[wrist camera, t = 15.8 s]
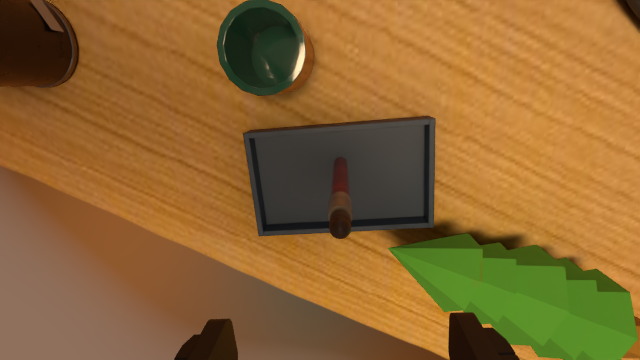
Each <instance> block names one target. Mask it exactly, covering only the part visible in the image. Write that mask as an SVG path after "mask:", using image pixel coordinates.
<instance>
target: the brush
mask: <svg viewBox="0 0 640 360" xmlns="http://www.w3.org/2000/svg"><path fill="white" fill-rule="evenodd" d="M352 218H353V214H352V203H351V198H350V194H349V181H348V168H347V161H346V159H344V158H342V157H339V158H337V159H336V160H335V161H334V170H333V181H332V192H331V197H330V200H329V210H328V220H329V222H330V223H329V230H330V233H331V234H332V236H333V237H335V238H338V239H343V238H345V237H347V236H348V235H349V234H350V232H351V221H352Z"/></svg>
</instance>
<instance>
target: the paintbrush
mask: <svg viewBox="0 0 640 360" xmlns="http://www.w3.org/2000/svg"><path fill="white" fill-rule="evenodd" d="M626 2H627V3H628V5H629V6H630V8H631V9H632V11H633V12H634V13H635V15H636V16H637V17H638V18H639V20H640V0H626Z"/></svg>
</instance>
